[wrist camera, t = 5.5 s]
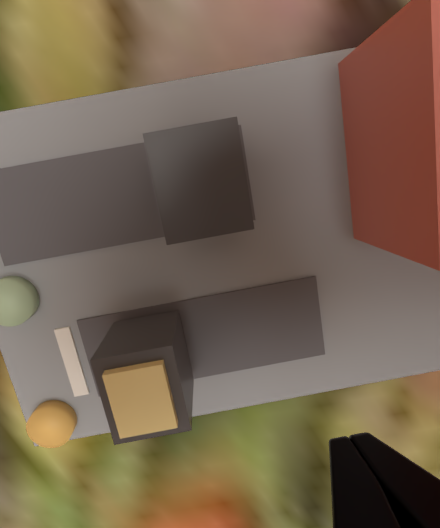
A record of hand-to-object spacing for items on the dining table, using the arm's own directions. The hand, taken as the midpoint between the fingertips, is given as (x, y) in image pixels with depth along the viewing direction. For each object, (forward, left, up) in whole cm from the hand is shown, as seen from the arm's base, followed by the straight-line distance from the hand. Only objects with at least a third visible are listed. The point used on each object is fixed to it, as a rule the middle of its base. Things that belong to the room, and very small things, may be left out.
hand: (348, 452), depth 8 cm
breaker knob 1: (+5, 0, -7) cm, 8 cm away
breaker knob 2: (+2, -6, -7) cm, 9 cm away
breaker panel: (0, -3, -8) cm, 9 cm away
